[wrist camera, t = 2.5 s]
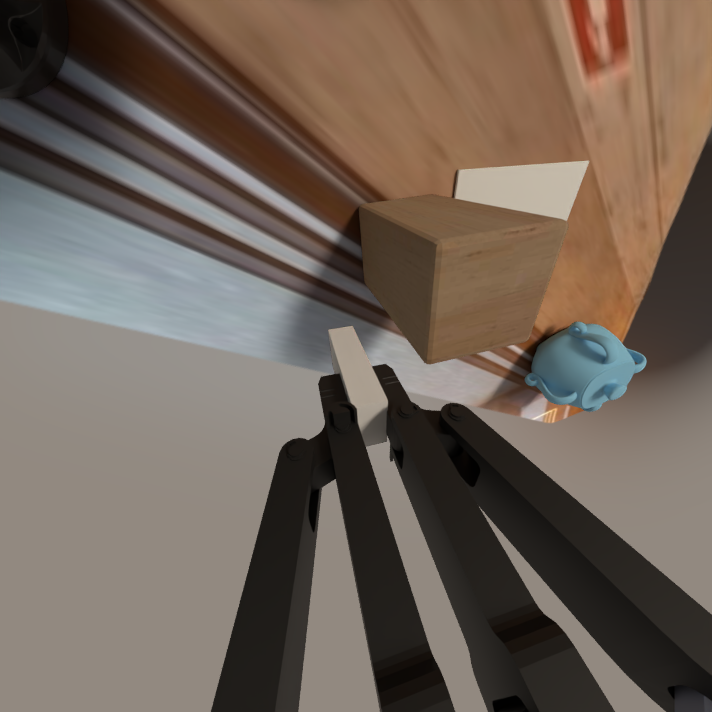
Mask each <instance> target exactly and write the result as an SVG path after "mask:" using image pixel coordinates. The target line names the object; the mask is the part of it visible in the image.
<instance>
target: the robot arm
mask: <svg viewBox="0 0 712 712" xmlns="http://www.w3.org/2000/svg"><path fill="white" fill-rule="evenodd" d="M67 44H68V16H67V8H66V2H65V0H0V98H17V97H23V96H27V95H30V94H33V93H35V92H38V91H39V90H41V89H43V88H44V87H45V86H47V85H48V84H49V83H50V82H51V81H52V80H53V79H54V78H55V76H56V75H57V73H58V72H59V70H60V68H61V66H62V64H63V61H64V58H65V55H66V50H67ZM328 332H329V340H330V348H331V356H332V364H333V368H334V372H335V374H333V375H328V376H323V377H321V378H320V381H319V383H318V385H319V391H320V396H321V402H322V408H323V413H324V418H325V426H324V428H323V430H322V431H321V432H320V433H319V434H318V435H317V436H315V437H314V438H312V439H310V440H306V439H303V438H297V439H292V440H290V441H289V442H287V443H286V444H285V445H284V446H283V447H282V449H281V451H280V453H279V456H278V460H277V464H276V468H275V471H274V475H273V479H272V483H271V487H270V490H269V494H268V498H267V502H266V506H265V509H264V513H263V517H262V521H261V525H260V528H259V532H258V536H257V540H256V544H255V548H254V551H253V555H252V559H251V562H250V566H249V570H248V574H247V577H246V581H245V585H244V589H243V592H242V596H241V600H240V604H239V608H238V611H237V616H236V619H235V623H234V627H233V630H232V634H231V638H230V642H229V646H228V649H227V653H226V657H225V661H224V664H223V668H222V672H221V676H220V679H219V683H218V687H217V691H216V695H215V698H214V702H213V706H212V710H211V712H298V709H299V708H298V707H299V699H300V690H301V680H302V670H303V661H304V652H305V643H306V632H307V624H308V614H309V605H310V595H311V586H312V576H313V567H314V557H315V548H316V538H317V529H318V520H319V519H318V518H319V510H320V501H321V490H322V487H323V486H325V485H326V484H328V483H330V482H331V481H333V480H334V479H336V482H337V487H338V493H339V498H340V503H341V508H342V514H343V519H344V524H345V529H346V535H347V540H348V545H349V550H350V555H351V561H352V566H353V571H354V576H355V582H356V587H357V592H358V597H359V603H360V608H361V613H362V617H363V623H364V629H365V634H366V639H367V644H368V649H369V654H370V660H371V665H372V670H373V675H374V681H375V686H376V692H377V696H378V702H379V708H380V712H455V710H454V707H453V704H452V701H451V698H450V695H449V692H448V689H447V686H446V684H445V681H444V678H443V676H442V673H441V671H440V669H439V667H438V665H437V663H436V661H435V659H434V657H433V655H432V652H431V650H430V647H429V644H428V641H427V638H426V635H425V631H424V628H423V625H422V622H421V619H420V616H419V613H418V610H417V606H416V603H415V600H414V597H413V594H412V591H411V587H410V584H409V582H408V578H407V575H406V572H405V569H404V566H403V562H402V559H401V556H400V553H399V550H398V547H397V544H396V541H395V537H394V534H393V531H392V528H391V525H390V522H389V519H388V516H387V512H386V509H385V506H384V503H383V500H382V497H381V494H380V491H379V487H378V484H377V481H376V478H375V475H374V472H373V469H372V465H371V463H370V459H369V457H368V453H367V450H366V446H370V445H374V444H379V443H383V442H386V441H387V436H388V438H389V440H390V461H393V459H394V461H395V464H396V466H397V469H398V471H399V474H400V476H401V479H402V481H403V484H404V486H405V489H406V491H407V494H408V496H409V499H410V502H411V504H412V507H413V509H414V512H415V514H416V517H417V519H418V521H419V524H420V527H421V529H422V532H423V534H424V537H425V539H426V542H427V545H428V547H429V549H430V552H431V555H432V557H433V560H434V562H435V565H436V567H437V570H438V572H439V575H440V577H441V580H442V582H443V585H444V587H445V590H446V593H447V595H448V598H449V600H450V603H451V605H452V608H453V610H454V613H455V615H456V618H457V620H458V623H459V625H460V628H461V630H462V633H463V635H464V638H465V640H466V643H467V646H468V649H469V653H470V658H471V664H472V668H473V672H474V675H475V678H476V681H477V684H478V686H479V689H480V692H481V694H482V697H483V699H484V702H485V705H486V707H487V710H488V712H615V711H614V710H613V708H612V706H611V705H610V703H609V702H608V700H607V698H606V696H605V695H604V693H603V692H602V690H601V688H600V687H599V685H598V683H597V682H596V680H595V679H594V677H593V675H592V674H591V673H590V671H589V669H588V667H587V666H586V664H585V662H584V661H583V659H582V658H581V656H580V654H579V653H578V651H577V649H576V648H575V646H574V645H573V643H572V642H571V641H570V639H569V638H568V636H567V635H566V633H565V632H564V631H563V630H562V629H561V628H560V627H559V625H557V623H556V622H554V621H553V620H552V619H550V618H549V617H547V616H546V615H545V614H543V612H542V611H541V610H540V609H539V607H538V606H537V604H536V603H535V601H534V599H533V598H532V596H531V594H530V593H529V591H528V589H527V588H526V586H525V584H524V582H523V581H522V579H521V577H520V576H519V574H518V572H517V571H516V569H515V567H514V566H513V564H512V562H511V560H510V559H509V557H508V555H507V554H506V552H505V550H504V549H503V547H502V545H501V544H500V542H499V541H498V538H497V537H496V535H495V533H494V532H493V530H492V528H491V527H490V525H489V523H488V522H487V520H486V518H485V516H484V515H483V513H482V511H481V510H480V508H481V509H482V510H483V511H484V512H485V514H486V515H487V516H488V517H489V518H490V519H491V520H492V522H493V523H494V524H495V525H496V526H497V527H498V529H499V530H500V531H501V532H502V533H503V534H504V536H505V537H506V538H507V539H508V540H509V541H510V542H511V544H512V545H513V546H514V547H515V548H516V549H517V551H518V552H520V554H521V555H522V556H523V557H524V559H525V560H526V561H527V562H528V563H529V564H530V566H531V567H532V568H533V569H534V570H535V571H536V572H537V574H538V575H539V576H540V577H541V578H542V579H543V581H544V582H545V583H546V584H547V585H548V586H549V587H550V589H551V590H552V591H553V592H554V593H555V594H556V595H557V597H558V598H559V599H560V600H561V601H562V602H563V604H564V605H565V606H566V607H567V608H568V609H569V611H571V613H572V614H573V615H574V616H575V617H576V619H577V620H578V621H579V622H580V623H581V624H582V626H583V627H584V628H585V629H586V630H587V631H588V632H589V634H590V635H591V636H592V637H593V638H594V639H595V641H596V642H597V643H598V644H599V645H600V646H601V647H602V649H603V650H604V651H605V652H606V653H607V654H608V655H609V656H610V657H611V659H613V661H614V662H615V663H616V664H617V665H618V666H619V667H620V668H621V669H622V670H623V672H624V673H626V675H627V676H628V677H629V678H630V679H632V681H634V682H635V683H636V684H637V685H638V686H639V687H640V688H641V689H642V690H643V691H644V692H645V693H646V694H647V695H648V696H649V697H650V698H651V699H652V700H653V701H655V702H656V703H657V704H658V705H659V706H660V707H661V708H663V709H664V710H665V711H666V712H712V615H711V614H710V613H709V612H708V611H707V610H705V609H704V608H703V607H702V606H701V605H700V604H698V603H697V602H696V601H695V600H694V599H693V598H691V597H690V596H689V595H687V593H685V592H684V591H683V590H682V589H681V588H680V587H678V586H677V585H676V584H675V583H674V582H672V581H671V580H670V579H669V578H668V577H667V576H665V575H664V574H663V573H662V572H661V571H659V570H658V569H657V568H656V567H655V566H653V565H652V564H651V563H650V562H649V561H647V560H646V559H645V558H644V557H643V556H642V555H641V554H639V553H638V552H637V551H636V550H635V549H634V548H632V547H631V546H630V545H629V544H628V543H626V542H625V541H624V540H623V539H622V538H620V537H619V536H618V535H617V534H616V533H615V532H613V531H612V530H611V529H610V528H609V527H608V526H606V525H605V524H604V523H603V522H602V521H600V520H599V519H598V518H597V517H596V516H594V515H593V514H592V513H591V512H590V511H589V510H587V509H586V508H585V507H584V506H583V505H582V504H580V503H579V502H578V501H577V500H576V499H575V498H573V497H572V496H571V495H570V494H569V493H567V492H566V491H565V490H564V489H562V487H560V486H559V485H558V484H557V483H555V482H554V481H553V480H552V479H551V478H550V477H549V476H547V475H546V474H545V473H544V472H543V471H541V470H540V469H539V468H538V467H537V466H536V465H534V464H533V463H532V462H531V461H530V460H528V459H527V458H526V457H525V456H524V455H522V454H521V453H520V452H519V451H518V450H517V449H516V448H514V447H513V446H512V445H511V444H510V443H508V442H507V441H506V440H505V439H504V438H503V437H501V436H500V435H499V434H498V433H497V432H495V431H494V430H493V429H492V428H491V427H490V426H488V425H487V424H486V423H485V422H484V421H482V420H481V419H480V418H479V417H478V416H477V415H475V414H474V413H473V412H472V411H471V410H469V409H468V408H467V407H465V406H464V405H461V404H458V403H450V404H446V405H445V406H443V407H442V409H441V411H431V410H424V409H421V408H420V407H419V406H418V405H416V404H415V403H413V402H411V401H410V399H409V397H408V395H407V394H406V392H405V390H404V388H403V387H402V385H401V383H400V382H399V380H398V378H397V377H396V374H395V373H394V371H393V369H392V368H390V367H389V366H388V365H386V364H382V365H377V366H371V364H370V362H369V360H368V357H367V355H366V353H365V351H364V349H363V347H362V345H361V343H360V341H359V338H358V336H357V334H356V332H355V330H354V328H353V326H348V327H342V328H336V329H330V330H328ZM477 504H478V505H477ZM479 507H480V508H479Z"/></svg>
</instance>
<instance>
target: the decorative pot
mask: <svg viewBox="0 0 712 712" xmlns="http://www.w3.org/2000/svg"><path fill="white" fill-rule="evenodd" d="M634 361H635V362H637V363H638V364H637V365H635V363H634ZM645 365H646V358H645V357H644V356H643V355H642V354H640V353H638V352H636V351H633V350H630V349H627V348H625V347H624V345H623V344H622V343H621V342H620V340H619V339H618V338H617V337H616V336H615V335H613V334H612V333H611V332H610V331H608V330H607V329H605V328H604V327H602V326H600V325H597V324H584V323H582V322H574V323H572V324H571V325H570V326H569V328H567V329H565V330H563V331H561V332H559V333H557V334H555V335H553V336H551V337H550V338H548V339H547V340H545V341H544V342H542V343H541V344H539V345H538V347H537V349H536V353H535V355H534V358H533V361H532V366H531V370H532V373H529V374H528V375H527V376H526V377H525V382H526V384H527V385H529V386H536V387H537V388H538V389H539V390H540V391H542V393H543V395H544V396H545V398H546V399H547V400H548V401H550V402H551V403H554V404H559V405H564V404H569V405H572V406H575V407H579V408H581V409H583V410H585V411H589V412H591V411H595V410H598V409H599V408H600V407H601V406H602V403H604V402H606V401H608V400H614V399H617V398H619V397H620V396H622V395H623V394H624V393H625V391H626V389H627V387H626V386H627V384H628V383H629V381H630V380H631V378H632V376H633V373H637V372H640V371H641V370H642V369H644V367H645ZM531 380H534V381H531Z"/></svg>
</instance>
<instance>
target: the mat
mask: <svg viewBox="0 0 712 712" xmlns="http://www.w3.org/2000/svg"><path fill="white" fill-rule="evenodd" d="M588 163H589V161H577V162H562V163H548V164H534V165H520V166H506V167H492V168H477V169H463V170H457V177H456V184H455V191H454V198H455V199H460V200H465V201H470V202H476V203H481V204H486V205H491V206H497V207H502V208H507V209H512V210H517V211H523V212H528V213H533V214H538V215H544V216H549V217H554V218H559V219H563V220H565V221H567V219H568V216H569V214H570V211H571V208H572V206H573V203H574V200H575V198H576V195H577V192H578V190H579V187H580V184H581V182H582V179H583V176H584V174H585V171H586V169H587V166H588Z"/></svg>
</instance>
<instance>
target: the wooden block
mask: <svg viewBox="0 0 712 712" xmlns="http://www.w3.org/2000/svg"><path fill="white" fill-rule="evenodd" d="M359 219H360V232H361V245H362V258H363V271H364V282H365V284H366V285H367V287H368V288H369V289H370V291H371V292H372V293H373V295H374V296H375V297H376V299H377V300H378V301H379V303H380V304H381V305H382V307H383V308H384V309H385V311H386V312H387V313H388V315H389V316H390V317H391V319H392V320H393V321H394V323H395V324H396V325H397V327H398V328H399V329H400V331H401V332H402V333H403V335H404V336H405V337H406V339H407V340H408V341H409V343H410V344H411V345H412V347H413V348H414V349H415V351H416V352H417V353H418V355H419V356H420V357H421V359H422V360H423V361H424V363H426V364H434V363H438V362H442V361H446V360H451V359H455V358H459V357H463V356H468V355H472V354H476V353H480V352H485V351H489V350H493V349H497V348H502V347H506V346H510V345H514V344H519V343H523V342H526V341H527V340H528V339H529V338H530V335H531V332H532V329H533V326H534V323H535V321H536V318H537V315H538V312H539V309H540V306H541V304H542V301H543V298H544V295H545V292H546V289H547V286H548V284H549V281H550V278H551V275H552V272H553V269H554V267H555V264H556V261H557V258H558V255H559V252H560V250H561V247H562V244H563V241H564V238H565V235H566V233H567V230H568V222H567V221H565V220H563V219H559V218H554V217H549V216H544V215H538V214H533V213H528V212H523V211H517V210H512V209H507V208H502V207H497V206H491V205H486V204H481V203H476V202H470V201H465V200H460V199H455V198H450V197H444V196H439V195H434V194H431V195H424V196H417V197H410V198H402V199H395V200H388V201H381V202H374V203H367V204H362V205H360V207H359Z"/></svg>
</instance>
